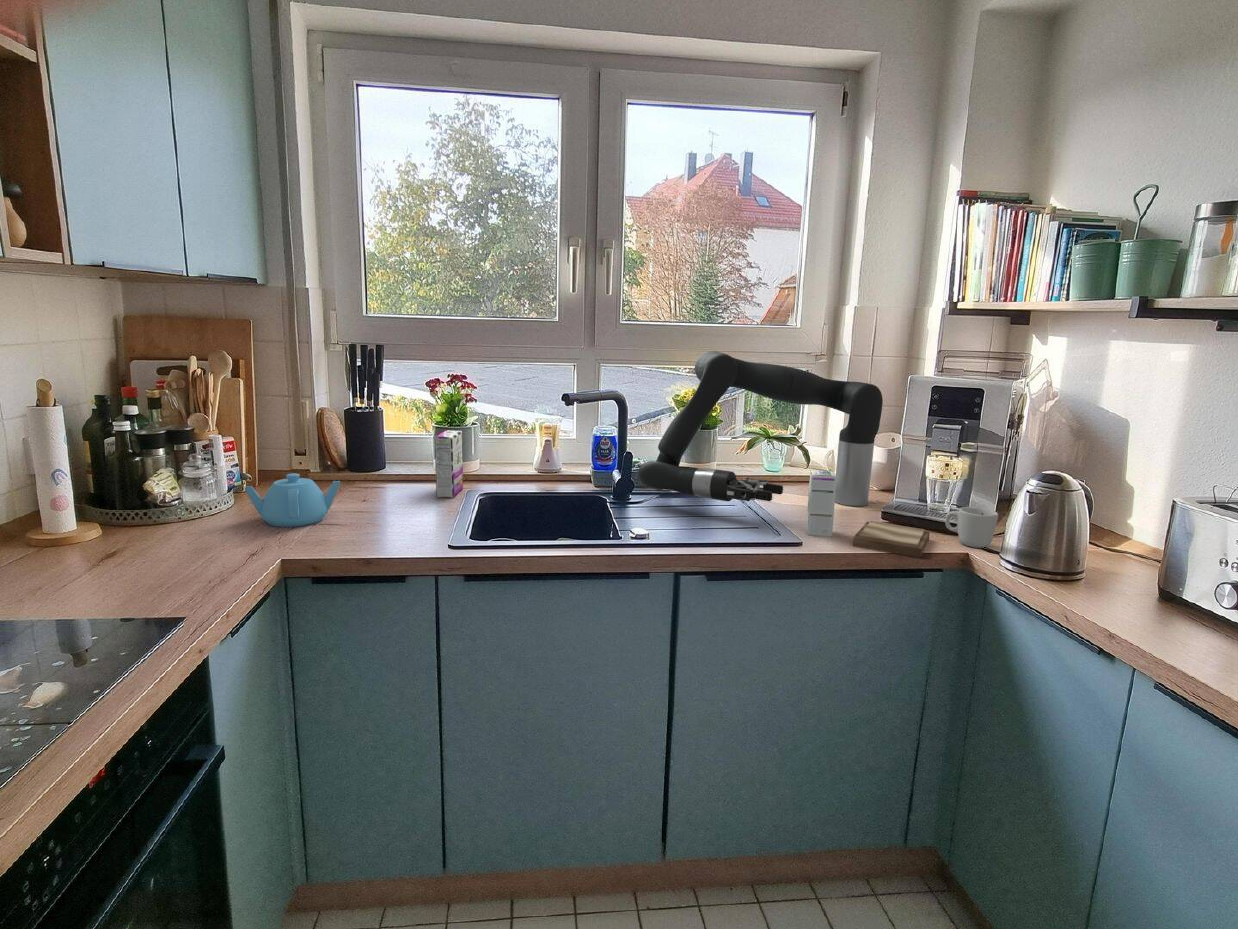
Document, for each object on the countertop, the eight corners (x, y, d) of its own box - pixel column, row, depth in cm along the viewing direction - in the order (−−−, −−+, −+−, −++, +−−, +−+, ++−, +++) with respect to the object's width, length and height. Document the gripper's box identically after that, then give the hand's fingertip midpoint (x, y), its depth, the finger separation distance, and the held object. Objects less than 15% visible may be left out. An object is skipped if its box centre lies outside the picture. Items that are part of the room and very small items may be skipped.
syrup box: (832, 537, 163) (838, 475, 160) (806, 535, 164) (811, 473, 162) (830, 530, 169) (836, 471, 166) (804, 528, 170) (809, 469, 167)
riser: (866, 529, 171) (867, 519, 170) (928, 539, 164) (930, 529, 164) (852, 546, 157) (853, 535, 157) (920, 557, 151) (921, 546, 150)
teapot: (241, 524, 158) (237, 476, 156) (293, 508, 172) (290, 465, 170) (295, 533, 153) (292, 484, 151) (344, 516, 167) (342, 471, 165)
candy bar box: (445, 488, 198) (444, 429, 195) (463, 488, 198) (463, 430, 195) (434, 497, 187) (433, 436, 184) (453, 498, 187) (453, 436, 184)
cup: (937, 541, 163) (941, 508, 161) (949, 535, 169) (953, 502, 167) (987, 553, 156) (992, 517, 154) (998, 545, 162) (1003, 511, 160)
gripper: (704, 474, 171) (769, 483, 163) (725, 465, 183) (787, 473, 175) (702, 504, 172) (767, 514, 165) (723, 493, 185) (784, 502, 177)
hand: (777, 493), depth 170 cm, fingers open, 8 cm apart
